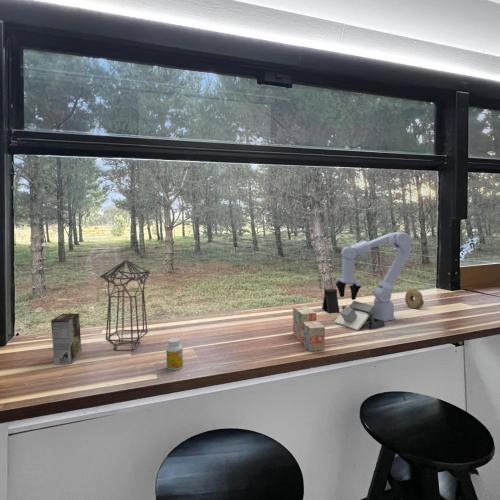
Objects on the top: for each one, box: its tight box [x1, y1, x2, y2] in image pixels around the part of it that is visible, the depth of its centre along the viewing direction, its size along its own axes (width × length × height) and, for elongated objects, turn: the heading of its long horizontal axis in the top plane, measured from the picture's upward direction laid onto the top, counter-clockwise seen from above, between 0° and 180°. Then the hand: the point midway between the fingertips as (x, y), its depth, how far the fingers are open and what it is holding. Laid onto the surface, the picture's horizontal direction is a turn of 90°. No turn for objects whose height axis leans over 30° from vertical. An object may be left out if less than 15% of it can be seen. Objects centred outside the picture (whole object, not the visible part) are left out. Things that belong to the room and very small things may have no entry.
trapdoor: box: [333, 300, 377, 331], centre depth 162 cm, size 15×14×4 cm
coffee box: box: [50, 313, 83, 366], centre depth 125 cm, size 9×6×16 cm
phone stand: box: [321, 288, 340, 314], centre depth 186 cm, size 9×6×12 cm, turn 13°
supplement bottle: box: [165, 337, 184, 371], centre depth 118 cm, size 5×5×10 cm
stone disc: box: [404, 289, 425, 309], centre depth 189 cm, size 10×4×10 cm, turn 26°
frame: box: [341, 305, 386, 330], centre depth 164 cm, size 9×18×7 cm, turn 31°
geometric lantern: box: [99, 260, 151, 352], centre depth 136 cm, size 16×16×35 cm
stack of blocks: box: [292, 305, 326, 352], centre depth 140 cm, size 21×6×12 cm, turn 10°
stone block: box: [339, 306, 357, 323], centre depth 159 cm, size 4×4×5 cm
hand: (347, 298), depth 171 cm, fingers open, 7 cm apart
